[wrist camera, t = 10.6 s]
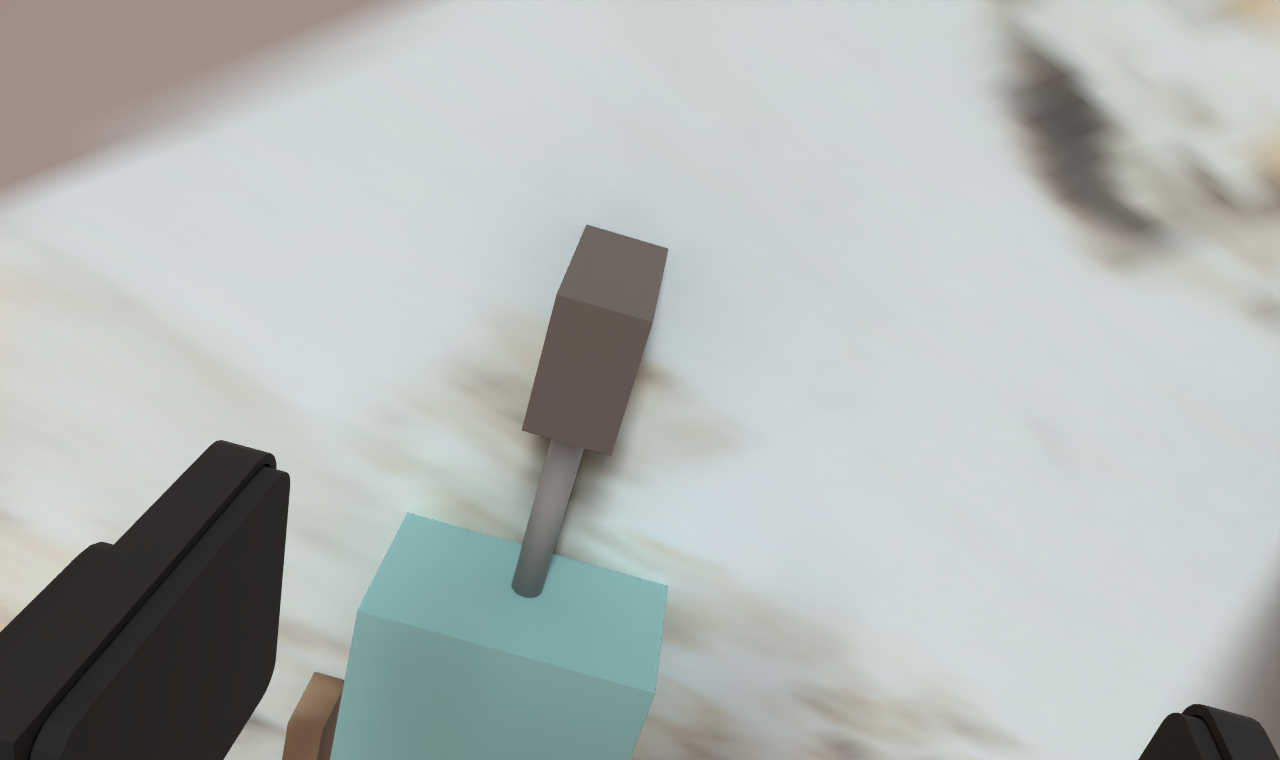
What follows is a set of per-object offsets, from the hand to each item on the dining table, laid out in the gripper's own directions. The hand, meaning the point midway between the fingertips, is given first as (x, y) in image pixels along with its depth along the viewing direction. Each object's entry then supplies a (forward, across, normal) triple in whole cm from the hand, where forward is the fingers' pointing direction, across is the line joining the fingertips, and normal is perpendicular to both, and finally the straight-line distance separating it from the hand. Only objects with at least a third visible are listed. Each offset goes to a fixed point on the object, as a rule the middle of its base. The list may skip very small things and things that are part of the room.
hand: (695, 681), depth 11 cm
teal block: (+20, +3, +12) cm, 24 cm away
